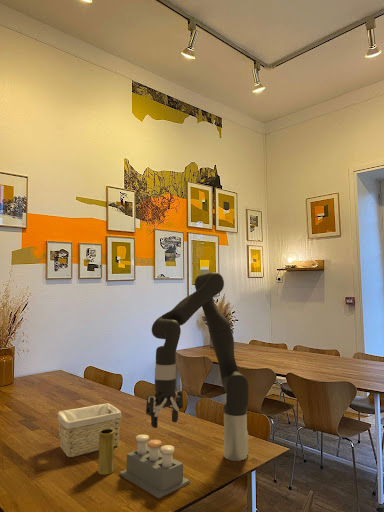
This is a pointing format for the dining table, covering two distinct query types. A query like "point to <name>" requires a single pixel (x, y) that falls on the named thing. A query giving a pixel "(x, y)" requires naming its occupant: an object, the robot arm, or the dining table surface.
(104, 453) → the vase
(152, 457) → the knob mid
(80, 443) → the storage basket
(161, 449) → the knob near
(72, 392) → the dining table surface
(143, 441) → the knob far
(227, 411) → the robot arm
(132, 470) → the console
